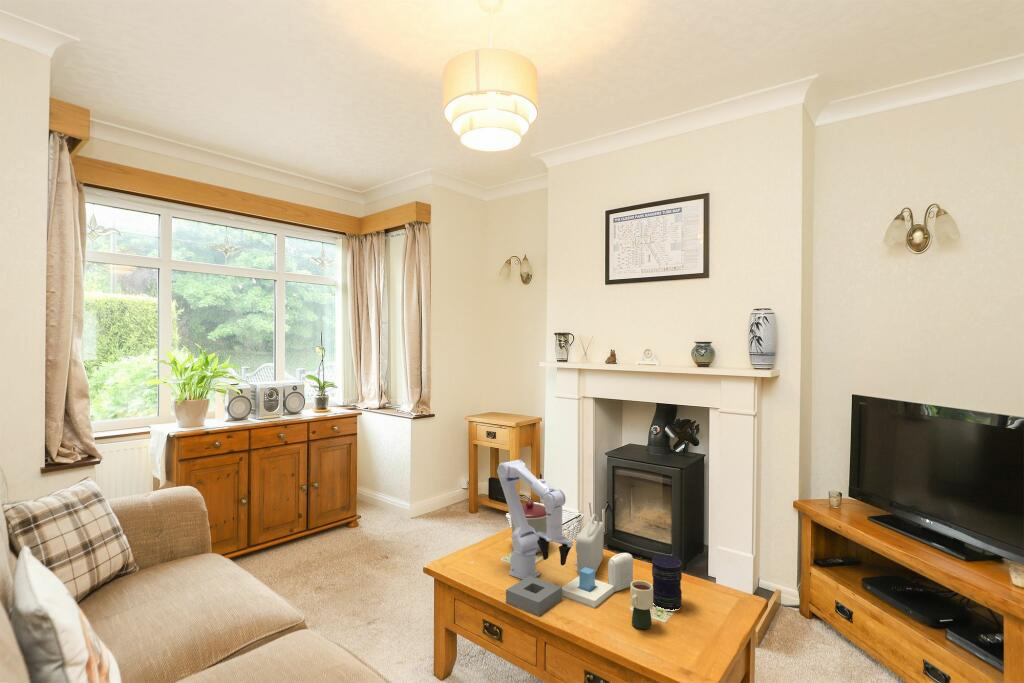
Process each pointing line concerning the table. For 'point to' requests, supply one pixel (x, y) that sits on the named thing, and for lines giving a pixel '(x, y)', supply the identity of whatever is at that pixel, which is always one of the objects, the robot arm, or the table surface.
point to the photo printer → (620, 571)
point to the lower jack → (587, 593)
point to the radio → (590, 544)
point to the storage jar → (667, 582)
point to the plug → (587, 579)
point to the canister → (534, 518)
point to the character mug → (641, 603)
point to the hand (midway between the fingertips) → (554, 561)
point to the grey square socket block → (534, 595)
